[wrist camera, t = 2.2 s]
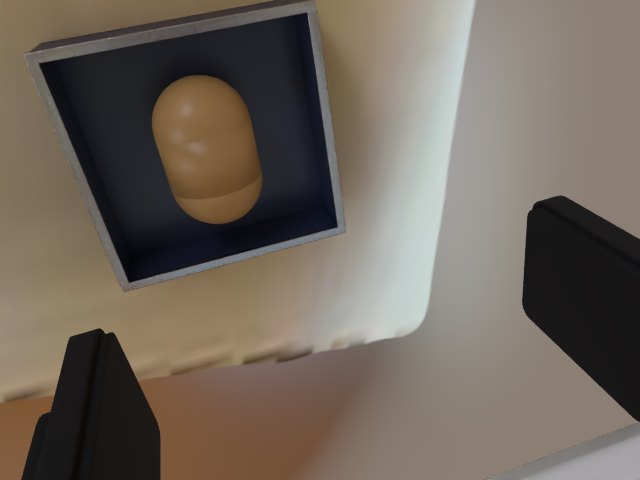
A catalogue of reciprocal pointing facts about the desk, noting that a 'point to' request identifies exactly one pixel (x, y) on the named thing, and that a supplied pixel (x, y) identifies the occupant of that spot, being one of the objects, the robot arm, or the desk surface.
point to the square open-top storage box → (141, 150)
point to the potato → (207, 148)
